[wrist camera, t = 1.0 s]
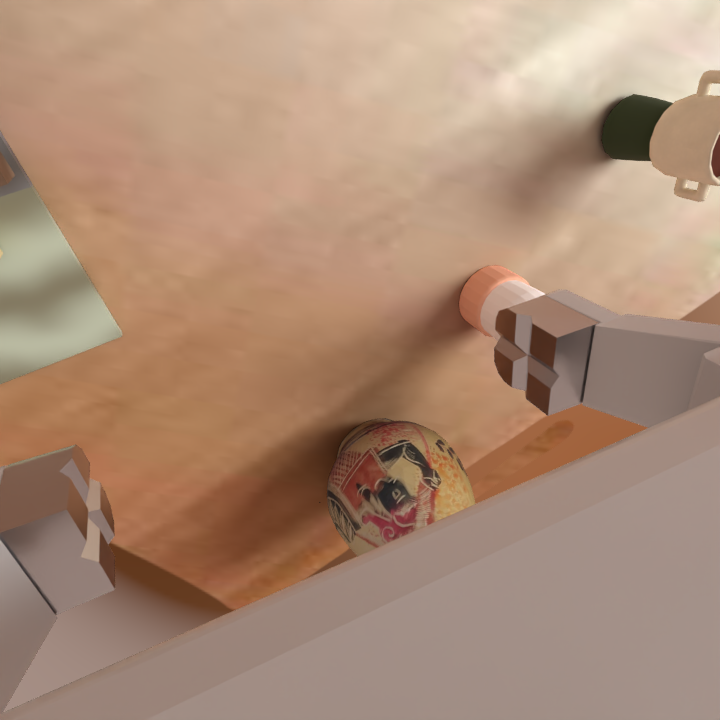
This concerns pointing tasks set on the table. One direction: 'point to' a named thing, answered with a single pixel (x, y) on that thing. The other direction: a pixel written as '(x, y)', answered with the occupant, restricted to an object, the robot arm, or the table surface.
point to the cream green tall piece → (671, 136)
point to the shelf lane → (41, 283)
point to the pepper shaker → (493, 297)
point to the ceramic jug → (393, 483)
